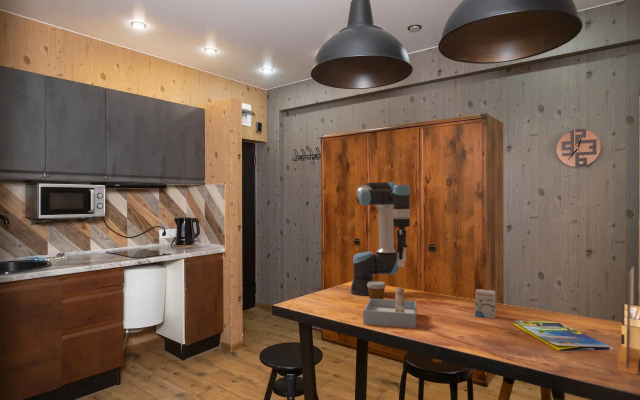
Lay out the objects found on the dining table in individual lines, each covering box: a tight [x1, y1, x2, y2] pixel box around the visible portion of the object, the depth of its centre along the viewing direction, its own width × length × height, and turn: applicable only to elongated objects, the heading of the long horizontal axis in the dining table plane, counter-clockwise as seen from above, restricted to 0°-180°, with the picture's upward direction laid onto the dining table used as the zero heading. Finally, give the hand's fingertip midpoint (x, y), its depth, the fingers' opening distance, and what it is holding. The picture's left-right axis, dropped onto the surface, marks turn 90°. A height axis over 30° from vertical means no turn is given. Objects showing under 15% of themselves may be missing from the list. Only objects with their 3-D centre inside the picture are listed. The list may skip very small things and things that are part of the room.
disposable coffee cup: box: [367, 280, 386, 299], centre depth 194 cm, size 10×10×12 cm
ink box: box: [474, 288, 497, 320], centre depth 176 cm, size 9×5×12 cm, turn 62°
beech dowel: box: [394, 287, 405, 313], centre depth 172 cm, size 4×4×14 cm
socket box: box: [362, 298, 418, 329], centre depth 174 cm, size 21×22×6 cm
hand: (402, 263), depth 176 cm, fingers open, 13 cm apart
